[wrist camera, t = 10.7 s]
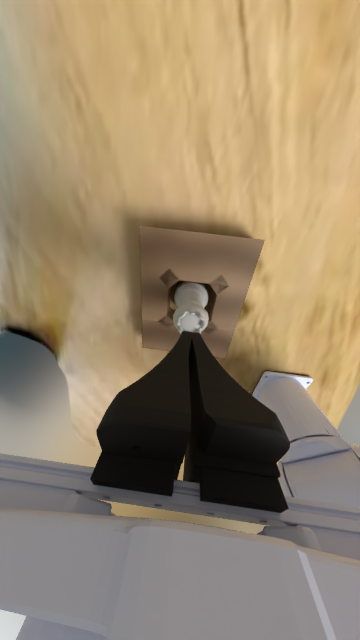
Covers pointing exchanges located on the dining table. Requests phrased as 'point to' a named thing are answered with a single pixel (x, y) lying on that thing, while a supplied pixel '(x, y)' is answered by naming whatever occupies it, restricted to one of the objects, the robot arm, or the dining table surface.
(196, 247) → the socket board
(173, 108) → the dining table surface
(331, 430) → the robot arm
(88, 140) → the dining table surface
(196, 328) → the rook chess piece
